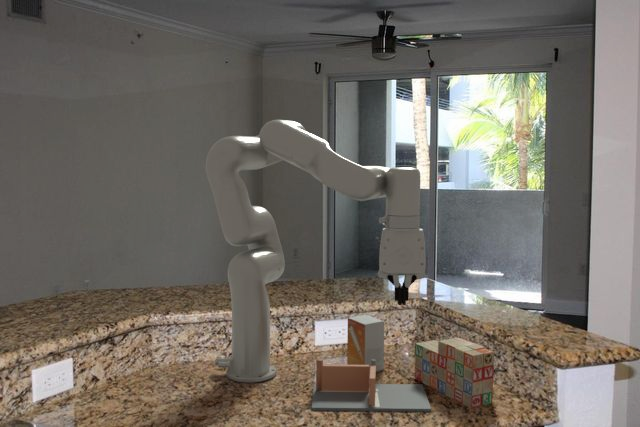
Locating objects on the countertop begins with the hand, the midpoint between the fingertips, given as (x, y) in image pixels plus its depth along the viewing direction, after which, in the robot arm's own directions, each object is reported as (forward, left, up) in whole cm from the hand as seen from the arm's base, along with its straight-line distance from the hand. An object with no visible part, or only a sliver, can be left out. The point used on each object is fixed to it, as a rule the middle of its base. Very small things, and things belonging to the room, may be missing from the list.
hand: (401, 303), depth 147 cm
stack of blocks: (+13, +5, -22) cm, 26 cm away
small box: (-7, +21, -22) cm, 31 cm away
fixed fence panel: (-13, +3, -21) cm, 25 cm away
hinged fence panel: (-6, -2, -21) cm, 22 cm away
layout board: (-7, 0, -22) cm, 23 cm away
